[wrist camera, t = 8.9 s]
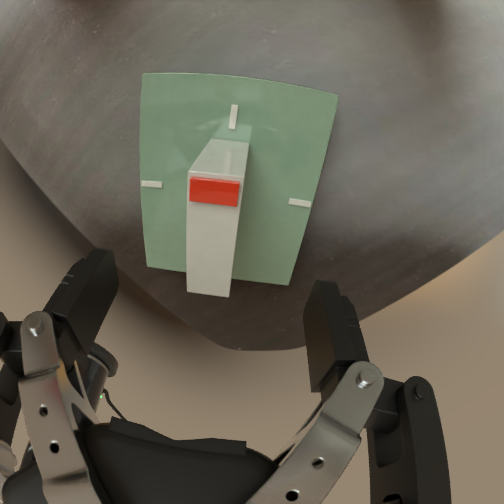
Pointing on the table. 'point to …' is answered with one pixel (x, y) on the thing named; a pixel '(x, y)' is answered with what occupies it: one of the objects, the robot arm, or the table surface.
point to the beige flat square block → (214, 215)
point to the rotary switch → (257, 169)
